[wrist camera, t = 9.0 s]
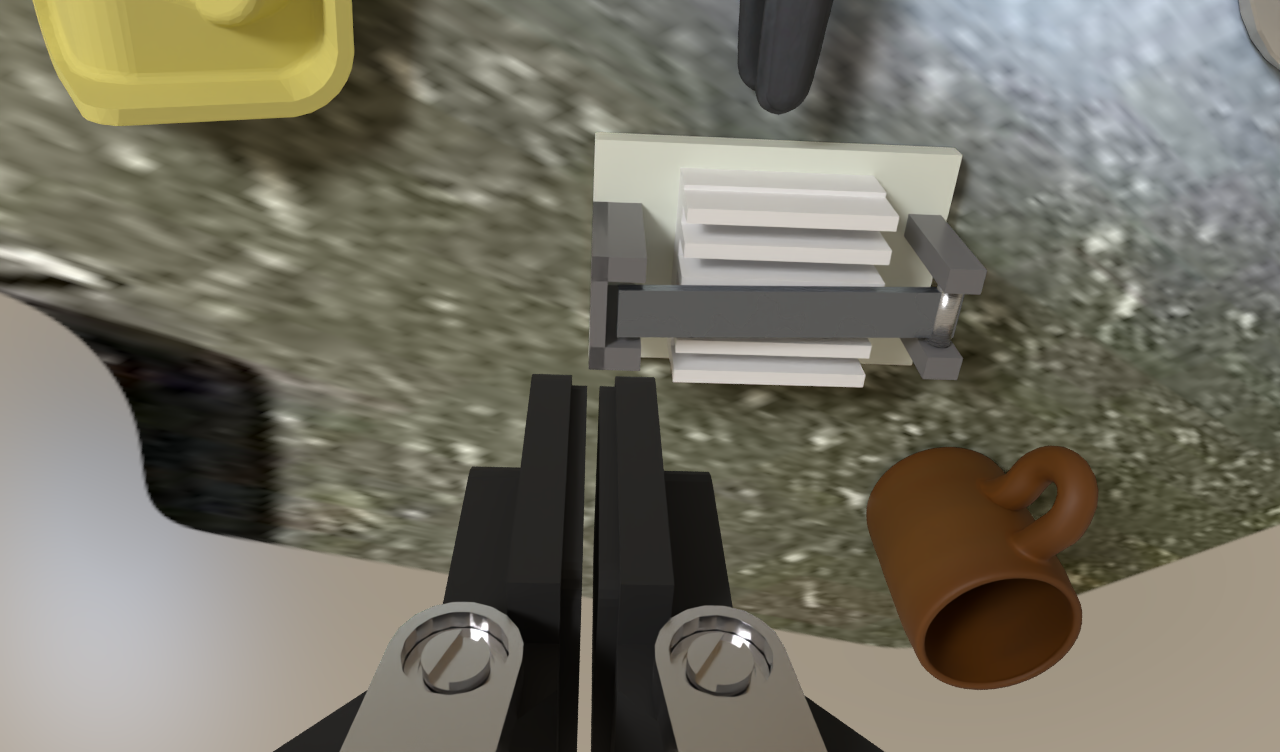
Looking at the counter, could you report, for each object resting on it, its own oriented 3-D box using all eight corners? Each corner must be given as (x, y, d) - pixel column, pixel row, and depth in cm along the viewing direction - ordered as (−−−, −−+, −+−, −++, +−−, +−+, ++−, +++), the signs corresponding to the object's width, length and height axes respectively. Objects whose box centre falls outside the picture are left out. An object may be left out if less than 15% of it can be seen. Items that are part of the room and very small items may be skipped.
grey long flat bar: (959, 277, 36) (969, 288, 36) (944, 335, 38) (953, 347, 37) (617, 274, 35) (619, 286, 34) (615, 334, 36) (616, 347, 35)
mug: (950, 351, 44) (1027, 472, 36) (1084, 394, 45) (1187, 519, 37) (837, 534, 50) (882, 673, 42) (959, 567, 51) (1026, 707, 43)
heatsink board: (954, 147, 39) (1013, 204, 33) (905, 354, 44) (949, 433, 38) (595, 132, 38) (594, 187, 32) (589, 344, 43) (587, 424, 37)
